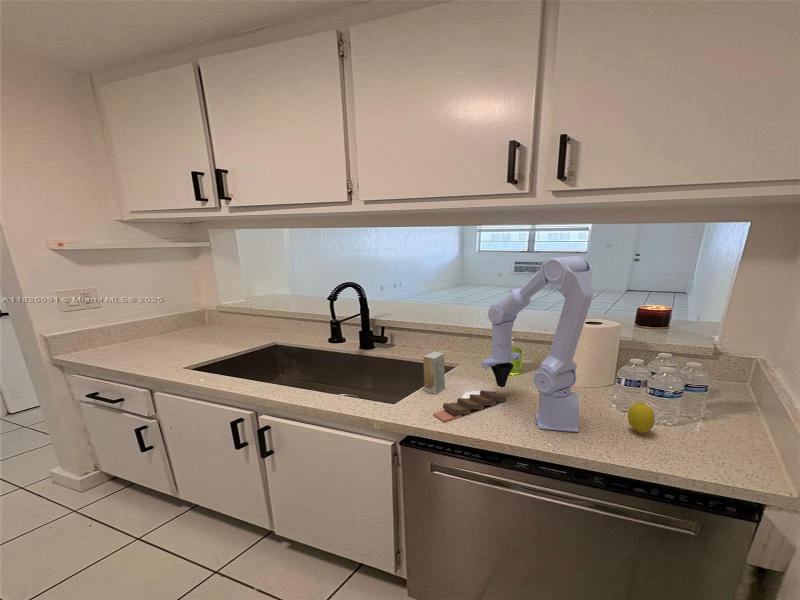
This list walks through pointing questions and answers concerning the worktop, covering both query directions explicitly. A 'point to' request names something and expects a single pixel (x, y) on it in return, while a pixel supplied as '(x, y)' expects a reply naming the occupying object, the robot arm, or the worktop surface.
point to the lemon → (641, 417)
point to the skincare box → (434, 372)
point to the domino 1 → (445, 416)
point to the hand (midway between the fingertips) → (501, 385)
